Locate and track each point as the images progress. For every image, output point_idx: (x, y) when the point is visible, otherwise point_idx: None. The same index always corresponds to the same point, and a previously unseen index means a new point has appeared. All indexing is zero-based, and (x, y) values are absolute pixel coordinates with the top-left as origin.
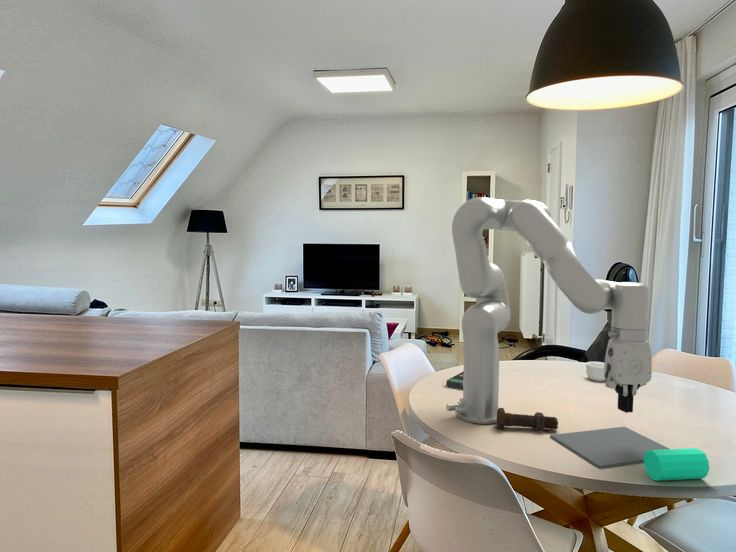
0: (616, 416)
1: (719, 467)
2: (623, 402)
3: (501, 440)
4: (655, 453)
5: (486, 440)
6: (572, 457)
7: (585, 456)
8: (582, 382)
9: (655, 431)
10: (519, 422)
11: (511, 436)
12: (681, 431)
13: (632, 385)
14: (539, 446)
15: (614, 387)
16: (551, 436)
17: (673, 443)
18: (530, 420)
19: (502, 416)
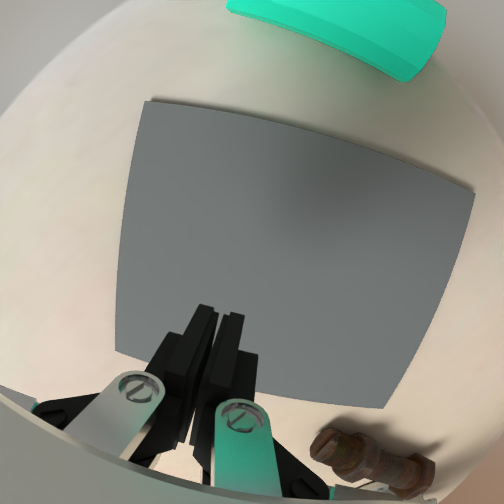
0: (80, 395)
1: (127, 19)
2: (249, 375)
3: (470, 414)
4: (445, 15)
5: (484, 419)
6: (462, 284)
7: (454, 260)
8: None
9: (53, 284)
10: (399, 461)
11: (438, 427)
12: (5, 246)
13: (123, 458)
14: (454, 370)
15: (348, 498)
16: (384, 403)
17: (73, 196)
18: (385, 461)
19: (430, 475)
